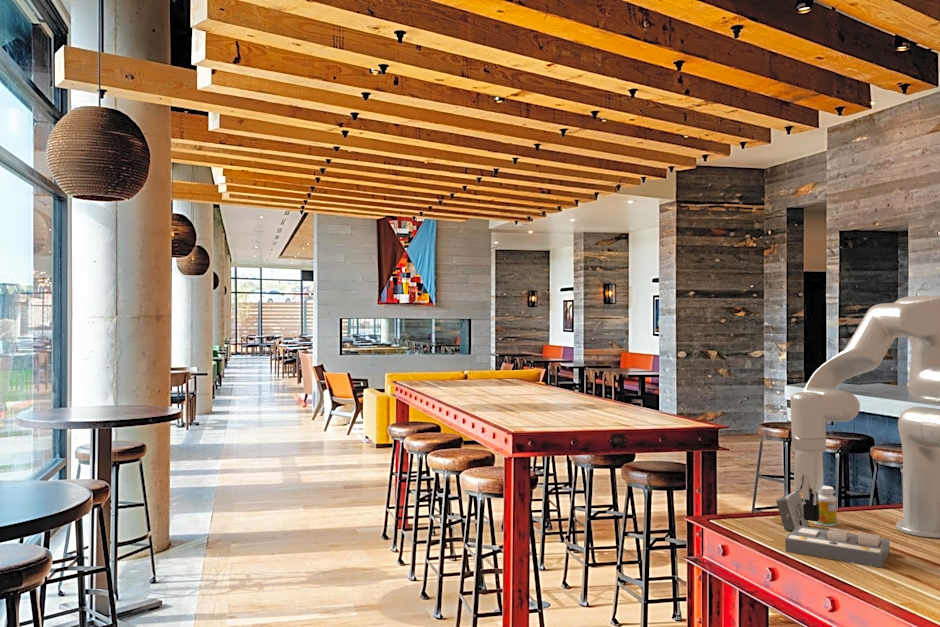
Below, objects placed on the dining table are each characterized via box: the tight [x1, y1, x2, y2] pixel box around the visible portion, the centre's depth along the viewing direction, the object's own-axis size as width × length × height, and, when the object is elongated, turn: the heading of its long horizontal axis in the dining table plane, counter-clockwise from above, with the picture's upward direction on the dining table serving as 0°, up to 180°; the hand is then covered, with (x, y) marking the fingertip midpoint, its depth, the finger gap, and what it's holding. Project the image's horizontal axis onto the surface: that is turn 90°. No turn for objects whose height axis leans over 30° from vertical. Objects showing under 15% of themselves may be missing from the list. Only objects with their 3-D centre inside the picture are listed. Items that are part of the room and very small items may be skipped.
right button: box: [858, 532, 881, 547], centre depth 173 cm, size 4×4×2 cm
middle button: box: [827, 527, 850, 542], centre depth 177 cm, size 4×4×2 cm
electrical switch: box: [775, 490, 810, 531], centre depth 196 cm, size 9×5×9 cm, turn 141°
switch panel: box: [784, 526, 891, 568], centre depth 176 cm, size 13×20×3 cm, turn 54°
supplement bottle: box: [813, 485, 838, 527], centre depth 199 cm, size 5×5×10 cm
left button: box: [798, 528, 819, 537], centre depth 181 cm, size 4×4×2 cm
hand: (811, 519), depth 181 cm, fingers closed
